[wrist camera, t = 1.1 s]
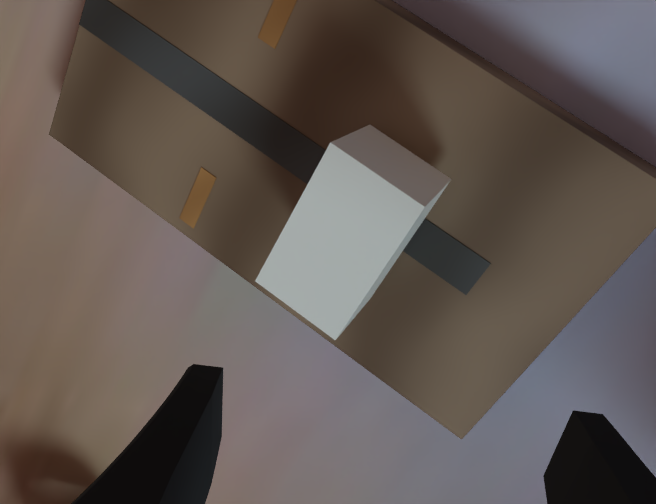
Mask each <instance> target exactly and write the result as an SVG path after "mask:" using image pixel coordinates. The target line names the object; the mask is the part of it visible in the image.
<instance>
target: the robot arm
mask: <svg viewBox="0 0 656 504" xmlns="http://www.w3.org/2000/svg"><path fill="white" fill-rule="evenodd" d="M222 396H223V368H221V367H213V366H204V365H196V364H193V365H192V366H190V367H188V369H187V370H186V372H185V373H184V375H183V376H182V378H181V379H180V381H179V382H178V384H177V385H176V386H175V388H174V389H173V391H172V392H171V393H170V395H169V396H168V397H167V399H166V400H165V401H164V403H163V404H162V405H161V406H160V408H159V409H158V410H157V412H156V413H155V414H154V415H153V417H152V418H151V419H150V420H149V421H148V423H147V424H146V425H145V426H144V427H143V428H142V430H141V431H140V432H139V433H138V434H137V436H136V437H135V438H134V439H133V440H132V442H131V443H130V444H129V445H128V446H127V447H126V448H125V449H124V450H123V452H122V453H121V454H120V455H119V456H118V457H117V458H116V459H115V460H114V461H113V462H112V463H111V464H110V465H109V466H108V468H107V469H106V470H105V471H104V472H103V473H102V474H101V475H100V476H99V477H98V478H97V479H96V480H95V481H94V482H93V483H92V484H91V485H90V486H89V487H88V488H87V489H86V490H85V491H84V492H83V493H82V494H81V495H80V496H79V497H78V498H77V499H76V500H75V501H73V502H72V503H71V504H205V502H206V499H207V496H208V493H209V489H210V486H211V483H212V478H213V474H214V469H215V465H216V460H217V456H218V451H219V446H220V441H221V437H222ZM544 482H545V489H546V497H547V504H656V478H655V476H654V475H653V474H652V473H651V472H650V470H649V469H648V468H647V467H646V466H645V464H644V463H643V462H642V461H641V460H640V458H639V457H638V456H637V455H636V454H635V452H634V451H633V450H632V449H631V447H630V446H629V445H628V444H627V443H626V441H625V440H624V439H623V438H622V437H621V435H620V434H619V433H618V432H617V431H616V429H615V428H614V427H613V426H612V425H611V423H610V422H609V421H608V420H607V419H606V418H605V416H604V415H603V414H597V413H588V412H580V411H573V412H572V414H571V416H570V418H569V421H568V423H567V425H566V427H565V430H564V432H563V434H562V436H561V438H560V441H559V443H558V445H557V447H556V449H555V452H554V454H553V456H552V458H551V460H550V463H549V465H548V467H547V469H546V471H545V474H544Z"/></svg>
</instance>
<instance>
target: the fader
mask: <svg viewBox="0 0 656 504" xmlns="http://www.w3.org/2000/svg"><path fill="white" fill-rule="evenodd" d="M450 181H451V179H450V178H449V177H448V176H446V175H445V174H443V173H442V172H440V171H439V170H437V169H436V168H434V167H433V166H431V165H430V164H428V163H427V162H425V161H424V160H422V159H421V158H419V157H418V156H416V155H415V154H413V153H412V152H410V151H409V150H407V149H406V148H404V147H403V146H401V145H400V144H398V143H397V142H395V141H394V140H392V139H391V138H389V137H388V136H386V135H385V134H383V133H382V132H380V131H379V130H377V129H376V128H374V127H373V126H372V125H368V126H366V127H363V128H361V129H359V130H357V131H354V132H352V133H350V134H348V135H346V136H343V137H341V138H339V139H337V140H335V141H332V142H330V144H329V146H328V148H327V149H326V151H325V153H324V155H323V157H322V159H321V161H320V162H319V164H318V166H317V168H316V170H315V172H314V173H313V175H312V177H311V179H310V181H309V183H308V184H307V186H306V188H305V190H304V192H303V194H302V195H301V197H300V199H299V201H298V203H297V205H296V207H295V208H294V210H293V212H292V214H291V216H290V218H289V219H288V221H287V223H286V225H285V227H284V229H283V230H282V232H281V234H280V236H279V238H278V240H277V241H276V243H275V245H274V247H273V249H272V251H271V253H270V254H269V256H268V258H267V260H266V262H265V264H264V265H263V267H262V269H261V271H260V273H259V275H258V276H257V278H256V280H255V282H257V283H258V284H259V285H261V286H262V287H264V288H265V289H266V290H268V291H269V292H270V293H272V294H273V295H274V296H276V297H277V298H278V299H280V300H281V301H283V302H284V303H285V304H287V305H288V306H289V307H291V308H292V309H293V310H295V311H296V312H297V313H299V314H300V315H301V316H303V317H304V318H306V319H307V320H308V321H310V322H311V323H312V324H314V325H315V326H316V327H318V328H319V329H320V330H322V331H323V332H324V333H326V334H327V335H329V336H330V337H331V338H333V339H334V340H336V339H337V338H338V337H339V336H340V334H341V333H342V332H343V331H344V330H345V328H346V327H347V326H348V325H349V324H350V322H351V321H352V320H353V319H354V318H355V316H356V315H357V314H358V313H359V312H360V310H361V309H362V308H363V307H364V306H365V304H366V303H367V302H368V301H369V300H370V298H371V297H372V296H373V294H374V293H375V291H376V290H377V288H378V287H379V285H380V284H381V282H382V281H383V279H384V278H385V276H386V275H387V273H388V272H389V271H390V269H391V268H392V266H393V265H394V263H395V262H396V260H397V259H398V257H399V256H400V254H401V253H402V251H403V250H404V248H405V247H406V245H407V244H408V243H409V241H410V240H411V238H412V237H413V235H414V234H415V232H416V231H417V229H418V228H419V226H420V225H421V223H422V222H423V220H424V219H425V217H426V216H427V215H428V213H429V212H430V210H431V209H432V207H433V206H434V204H435V203H436V201H437V200H438V198H439V197H440V195H441V194H442V192H443V191H444V189H445V188H446V186H447V185H448V184H449V182H450Z"/></svg>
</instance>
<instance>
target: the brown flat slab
mask: <svg viewBox="0 0 656 504" xmlns="http://www.w3.org/2000/svg"><path fill="white" fill-rule="evenodd" d="M79 25H80V26H79V29H78V33H77V36H76V40H75V43H74V47H73V51H72V54H71V58H70V61H69V65H68V68H67V72H66V75H65V79H64V83H63V86H62V90H61V93H60V97H59V100H58V104H57V107H56V111H55V115H54V118H53V122H52V125H51V129H50V132H49V135H51V136H52V137H53V138H55V139H56V140H57V141H59V142H60V143H61V144H63V145H64V146H66V147H67V148H68V149H70V150H71V151H72V152H74V153H75V154H76V155H78V156H79V157H80V158H82V159H83V160H84V161H86V162H87V163H89V164H90V165H91V166H93V167H94V168H95V169H97V170H98V171H99V172H101V173H102V174H103V175H105V176H106V177H107V178H109V179H110V180H111V181H113V182H114V183H116V184H117V185H118V186H120V187H121V188H122V189H124V190H125V191H126V192H128V193H129V194H130V195H132V196H133V197H134V198H136V199H137V200H139V201H140V202H141V203H143V204H144V205H145V206H147V207H148V208H149V209H151V210H152V211H153V212H155V213H156V214H157V215H159V216H160V217H161V218H163V219H164V220H166V221H167V222H168V223H170V224H171V225H172V226H174V227H175V228H176V229H178V230H179V231H180V232H182V233H183V234H184V235H186V236H187V237H189V238H190V239H191V240H193V241H194V242H195V243H197V244H198V245H199V246H201V247H202V248H203V249H205V250H206V251H207V252H209V253H210V254H211V255H213V256H214V257H216V258H217V259H218V260H220V261H221V262H222V263H224V264H225V265H226V266H228V267H229V268H230V269H232V270H233V271H234V272H236V273H237V274H239V275H240V276H241V277H243V278H244V279H245V280H247V281H248V282H249V283H251V284H252V285H253V286H255V287H256V288H257V289H259V290H260V291H262V292H263V293H264V294H266V295H267V296H268V297H270V298H271V299H272V300H274V301H275V302H276V303H278V304H279V305H280V306H282V307H283V308H284V309H286V310H287V311H289V312H290V313H291V314H293V315H294V316H295V317H297V318H298V319H299V320H301V321H302V322H303V323H305V324H306V325H307V326H309V327H310V328H312V329H313V330H314V331H316V332H317V333H318V334H320V335H321V336H322V337H324V338H325V339H326V340H328V341H329V342H330V343H332V344H333V345H334V346H336V347H337V348H339V349H340V350H341V351H343V352H344V353H345V354H347V355H348V356H349V357H351V358H352V359H353V360H355V361H356V362H357V363H359V364H360V365H362V366H363V367H364V368H366V369H367V370H368V371H370V372H371V373H372V374H374V375H375V376H376V377H378V378H379V379H380V380H382V381H383V382H385V383H386V384H387V385H389V386H390V387H391V388H393V389H394V390H395V391H397V392H398V393H399V394H401V395H402V396H403V397H405V398H406V399H407V400H409V401H410V402H412V403H413V404H414V405H416V406H417V407H418V408H420V409H421V410H422V411H424V412H425V413H426V414H428V415H429V416H430V417H432V418H433V419H435V420H436V421H437V422H439V423H440V424H441V425H443V426H444V427H445V428H447V429H448V430H449V431H451V432H452V433H453V434H455V435H456V436H457V437H459V438H460V439H462V438H463V437H464V436H465V435H466V434H467V433H468V432H469V431H470V430H471V429H472V428H473V426H474V425H475V424H476V423H477V422H478V421H479V420H480V419H481V418H482V417H483V416H484V414H485V413H486V412H487V411H488V410H489V409H490V408H491V407H492V406H493V405H494V404H495V402H496V401H497V400H498V399H499V398H500V397H501V396H502V395H503V394H504V393H505V392H506V390H507V389H508V388H509V387H510V386H511V385H512V384H513V383H514V382H515V381H516V380H517V378H518V377H519V376H520V375H521V374H522V373H523V372H524V371H525V370H526V369H527V368H528V366H529V365H530V364H531V363H532V362H533V361H534V360H535V359H536V358H537V357H538V356H539V354H540V353H541V352H542V351H543V350H544V349H545V348H546V347H547V346H548V345H549V344H550V342H551V341H552V340H553V339H554V338H555V337H556V336H557V335H558V334H559V333H560V332H561V330H562V329H563V328H564V327H565V326H566V325H567V324H568V323H569V322H570V321H571V320H572V318H573V317H574V316H575V315H576V314H577V313H578V312H579V311H580V310H581V309H582V308H583V306H584V305H585V304H586V303H587V302H588V301H589V300H590V299H591V298H592V297H593V295H594V294H595V293H596V292H597V291H598V290H599V289H600V288H601V287H602V286H603V285H604V283H605V282H606V281H607V280H608V279H609V278H610V277H611V276H612V275H613V274H614V273H615V271H616V270H617V269H618V268H619V267H620V266H621V265H622V264H623V263H624V262H625V261H626V259H627V258H628V257H629V256H630V255H631V254H632V253H633V252H634V251H635V250H636V249H637V247H638V246H639V245H640V244H641V243H642V242H643V241H644V240H645V239H646V238H647V237H648V235H649V234H650V233H651V232H652V231H653V230H654V229H655V228H656V167H654V166H653V165H651V164H650V163H648V162H646V161H645V160H643V159H642V158H640V157H639V156H637V155H635V154H634V153H632V152H631V151H629V150H627V149H626V148H624V147H623V146H621V145H620V144H618V143H616V142H615V141H613V140H612V139H610V138H609V137H607V136H605V135H604V134H602V133H601V132H599V131H597V130H596V129H594V128H593V127H591V126H590V125H588V124H586V123H585V122H583V121H582V120H580V119H578V118H577V117H575V116H574V115H572V114H571V113H569V112H567V111H566V110H564V109H563V108H561V107H560V106H558V105H556V104H555V103H553V102H552V101H550V100H548V99H547V98H545V97H544V96H542V95H541V94H539V93H537V92H536V91H534V90H533V89H531V88H529V87H528V86H526V85H525V84H523V83H522V82H520V81H518V80H517V79H515V78H514V77H512V76H511V75H509V74H507V73H506V72H504V71H503V70H501V69H499V68H498V67H496V66H495V65H493V64H492V63H490V62H488V61H487V60H485V59H484V58H482V57H480V56H479V55H477V54H476V53H474V52H473V51H471V50H469V49H468V48H466V47H465V46H463V45H462V44H460V43H458V42H457V41H455V40H454V39H452V38H450V37H449V36H447V35H446V34H444V33H443V32H441V31H439V30H438V29H436V28H435V27H433V26H431V25H430V24H428V23H427V22H425V21H424V20H422V19H420V18H419V17H417V16H416V15H414V14H413V13H411V12H409V11H408V10H406V9H405V8H403V7H401V6H400V5H398V4H397V3H395V2H394V1H392V0H86V2H85V5H84V9H83V12H82V16H81V19H80V23H79ZM368 125H372V126H373V127H374V128H376V129H377V130H379V131H380V132H382V133H383V134H385V135H386V136H388V137H389V138H391V139H392V140H394V141H395V142H397V143H398V144H400V145H401V146H403V147H404V148H406V149H407V150H409V151H410V152H412V153H413V154H415V155H416V156H418V157H419V158H421V159H422V160H424V161H425V162H427V163H428V164H430V165H431V166H433V167H434V168H436V169H437V170H439V171H440V172H442V173H443V174H445V175H446V176H448V177H449V178H450V179H451V181H450V182H449V184H448V185H447V186H446V188H445V189H444V191H443V192H442V194H441V195H440V197H439V198H438V200H437V201H436V203H435V204H434V206H433V207H432V209H431V210H430V212H429V213H428V215H427V216H426V217H425V219H424V220H423V222H422V223H421V225H420V226H419V228H418V229H417V231H416V232H415V234H414V235H413V237H412V238H411V240H410V241H409V243H408V244H407V245H406V247H405V248H404V250H403V251H402V253H401V254H400V256H399V257H398V259H397V260H396V262H395V263H394V265H393V266H392V268H391V269H390V271H389V272H388V273H387V275H386V276H385V278H384V279H383V281H382V282H381V284H380V285H379V287H378V288H377V290H376V291H375V293H374V294H373V296H372V297H371V298H370V300H369V301H368V302H367V303H366V304H365V306H364V307H363V308H362V309H361V310H360V312H359V313H358V314H357V315H356V316H355V318H354V319H353V320H352V321H351V322H350V324H349V325H348V326H347V327H346V328H345V330H344V331H343V332H342V333H341V334H340V336H339V337H338V338H337V339H336V340H334V339H333V338H331V337H330V336H329V335H327V334H326V333H324V332H323V331H322V330H320V329H319V328H318V327H316V326H315V325H314V324H312V323H311V322H310V321H308V320H307V319H306V318H304V317H303V316H301V315H300V314H299V313H297V312H296V311H295V310H293V309H292V308H291V307H289V306H288V305H287V304H285V303H284V302H283V301H281V300H280V299H278V298H277V297H276V296H274V295H273V294H272V293H270V292H269V291H268V290H266V289H265V288H264V287H262V286H261V285H259V284H258V283H257V282H255V280H256V278H257V276H258V275H259V273H260V271H261V269H262V267H263V265H264V264H265V262H266V260H267V258H268V256H269V254H270V253H271V251H272V249H273V247H274V245H275V243H276V241H277V240H278V238H279V236H280V234H281V232H282V230H283V229H284V227H285V225H286V223H287V221H288V219H289V218H290V216H291V214H292V212H293V210H294V208H295V207H296V205H297V203H298V201H299V199H300V197H301V195H302V194H303V192H304V190H305V188H306V186H307V184H308V183H309V181H310V179H311V177H312V175H313V173H314V172H315V170H316V168H317V166H318V164H319V162H320V161H321V159H322V157H323V155H324V153H325V151H326V149H327V148H328V146H329V144H330V142H332V141H335V140H337V139H339V138H341V137H343V136H346V135H348V134H350V133H352V132H354V131H357V130H359V129H361V128H363V127H366V126H368Z"/></svg>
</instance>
